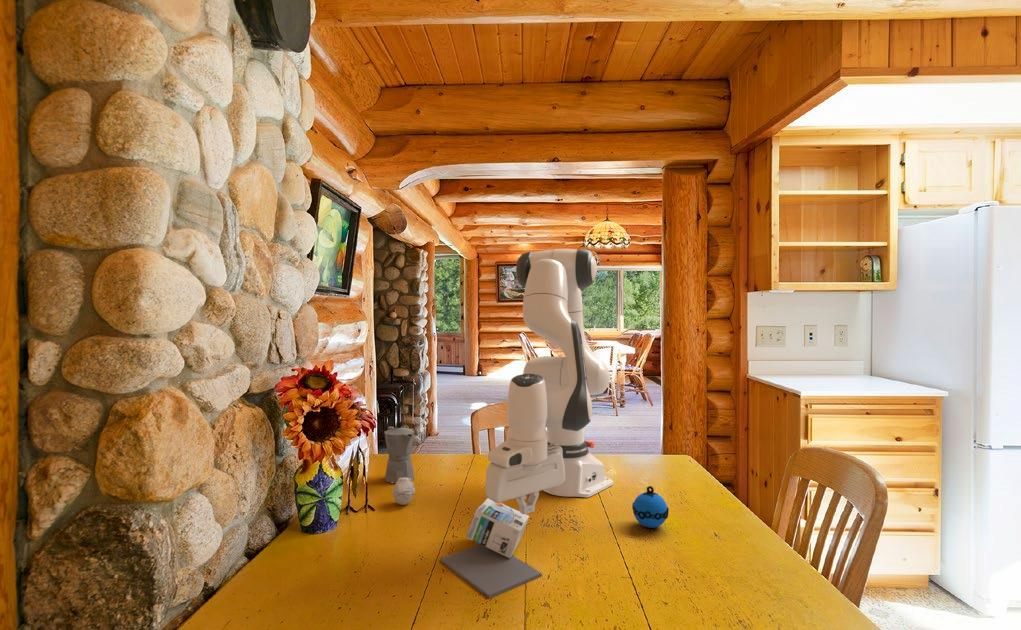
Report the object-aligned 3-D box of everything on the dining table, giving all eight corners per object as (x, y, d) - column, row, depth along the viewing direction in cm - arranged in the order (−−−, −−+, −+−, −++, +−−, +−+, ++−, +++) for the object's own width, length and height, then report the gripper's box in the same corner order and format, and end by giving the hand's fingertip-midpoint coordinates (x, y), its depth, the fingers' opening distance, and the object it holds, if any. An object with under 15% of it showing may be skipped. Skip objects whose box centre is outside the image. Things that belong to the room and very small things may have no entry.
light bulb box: (521, 530, 112) (475, 509, 115) (510, 560, 113) (464, 538, 115) (529, 515, 123) (487, 495, 125) (519, 542, 123) (477, 522, 125)
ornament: (625, 527, 130) (625, 486, 130) (643, 516, 137) (643, 478, 136) (657, 537, 125) (658, 495, 124) (674, 526, 131) (674, 486, 131)
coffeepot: (424, 480, 164) (424, 422, 163) (398, 488, 157) (397, 428, 157) (397, 469, 175) (397, 415, 174) (371, 476, 168) (371, 419, 168)
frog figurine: (418, 499, 149) (417, 474, 148) (410, 509, 142) (410, 483, 142) (396, 498, 149) (396, 474, 149) (388, 508, 142) (388, 482, 142)
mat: (489, 543, 122) (489, 541, 121) (541, 576, 107) (541, 573, 107) (440, 561, 114) (440, 558, 113) (489, 598, 99) (489, 595, 99)
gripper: (552, 439, 125) (552, 497, 125) (481, 454, 112) (481, 519, 112) (571, 444, 120) (571, 505, 120) (499, 461, 107) (499, 529, 108)
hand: (527, 512), depth 116 cm, fingers closed
